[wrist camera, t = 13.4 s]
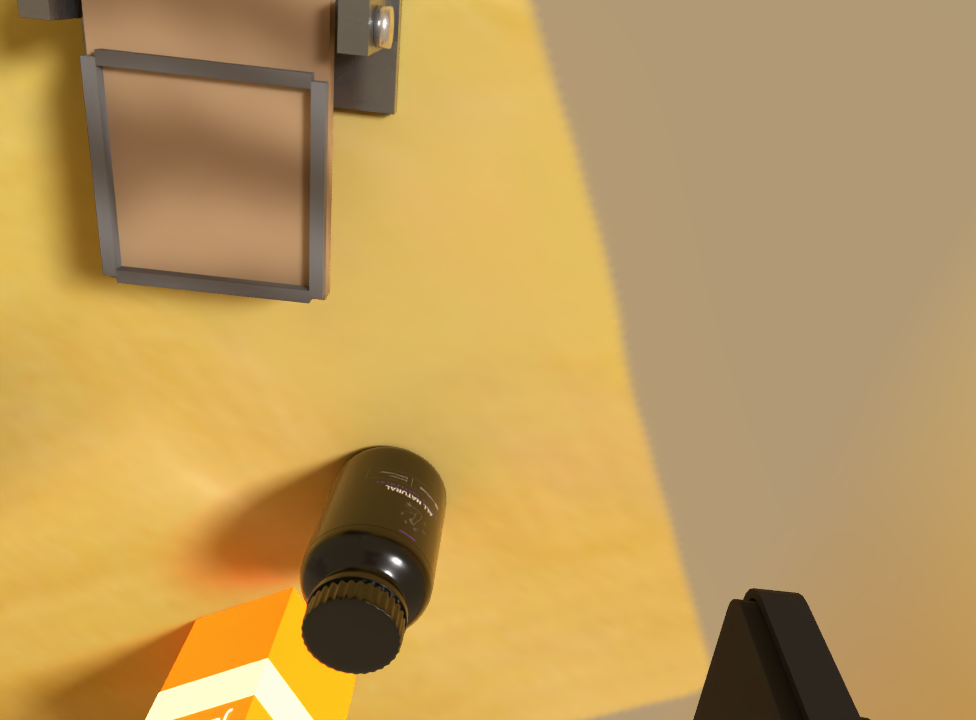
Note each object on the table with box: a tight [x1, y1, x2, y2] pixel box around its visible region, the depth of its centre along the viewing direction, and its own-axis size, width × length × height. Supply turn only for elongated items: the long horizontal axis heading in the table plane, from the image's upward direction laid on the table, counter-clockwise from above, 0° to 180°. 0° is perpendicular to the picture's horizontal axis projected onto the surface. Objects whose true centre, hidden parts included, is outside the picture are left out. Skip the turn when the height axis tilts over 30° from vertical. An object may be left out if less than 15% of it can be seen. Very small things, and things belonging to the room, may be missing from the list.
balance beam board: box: [80, 0, 336, 303], centre depth 32 cm, size 24×10×2 cm, turn 174°
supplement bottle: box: [300, 447, 446, 674], centre depth 42 cm, size 7×7×12 cm
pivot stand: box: [17, 0, 402, 114], centre depth 33 cm, size 8×15×6 cm, turn 84°
